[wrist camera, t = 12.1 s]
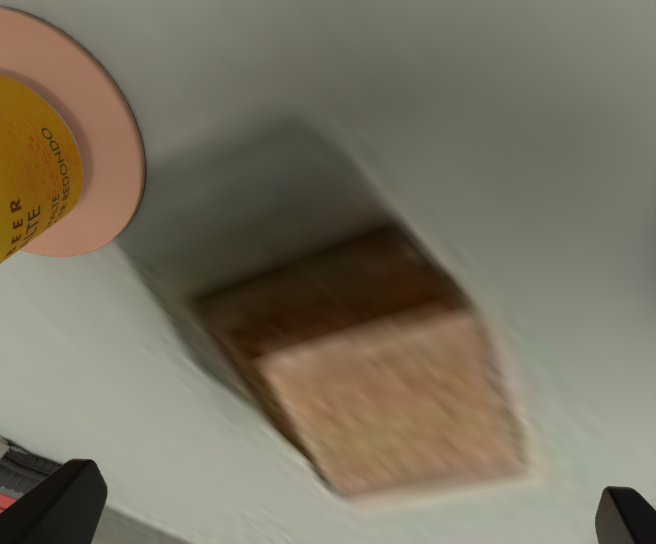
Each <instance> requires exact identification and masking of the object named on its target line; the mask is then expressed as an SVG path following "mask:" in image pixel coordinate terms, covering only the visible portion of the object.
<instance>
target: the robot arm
mask: <svg viewBox="0 0 656 544" xmlns="http://www.w3.org/2000/svg"><path fill="white" fill-rule="evenodd" d="M106 499H107V486H106V483H105V481H104V479H103V477H102V475H101V473H100V471H99V469H98V466H97V464H96V463H95V462H94V461H93V460H91V459H72V460H69V461H68V462H66V463H65V464H63V465H62V466H61V467H60V468H58V469H57V470H56V471H54V472H53V473H52V474H50V475H49V476H48V477H46V478H45V479H44V480H43V481H41V482H40V483H39V484H37V485H36V486H35V487H33V488H32V489H31V490H30V491H28V492H27V493H26V494H24V495H23V496H22V497H20V498H19V499H18V500H17V501H15V502H14V503H13V504H11V505H10V506H9V507H7V508H6V509H5V510H4V511H2V512H1V513H0V544H91V543H92V540H93V537H94V534H95V531H96V528H97V525H98V522H99V520H100V517H101V514H102V511H103V508H104V505H105V502H106ZM595 527H596V533H597V538H598V542H599V544H656V510H655V509H654V508H653V507H652V506H651V505H650V504H649V503H648V502H647V501H646V500H645V499H644V498H643V497H642V496H641V495H640V494H639V493H638V492H637V491H636V490H634V489H632V488H629V487H616V486H607V487H606V488H605V489H604V490H603V492H602V496H601V499H600V503H599V506H598V510H597V513H596V517H595Z"/></svg>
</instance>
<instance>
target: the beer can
mask: <svg viewBox="0 0 656 544" xmlns="http://www.w3.org/2000/svg"><path fill="white" fill-rule="evenodd" d="M82 186H83V167H82V162H81V156H80V151H79V148H78V145H77V142H76V140H75V137H74V135H73V133H72V131H71V129H70V128H69V126H68V125H67V123H66V122H65V120H64V119H63V118H62V116H61V115H60V114H59V113H58V112H57V111H56V110H55V109H54V108H53V107H52V106H51V105H50V104H49V103H48V102H47V101H45V100H44V99H43V98H42V97H40V96H39V95H38V94H37V93H35V92H34V91H33V90H31V89H30V88H28V87H27V86H25V85H23V84H22V83H20V82H18V81H16V80H14V79H12V78H10V77H7V76H4V75H2V74H0V263H2V262H3V261H4V260H6V259H7V258H9V257H10V256H11V255H13V254H14V253H15V252H17V251H18V250H20V249H21V248H22V247H24V246H25V245H27V244H28V243H29V242H31V241H32V240H33V239H35V238H36V237H38V236H39V235H40V234H42V233H43V232H44V231H46V230H47V229H49V228H50V227H51V226H53V225H54V224H56V223H57V222H58V221H60V220H61V219H62V218H64V217H65V216H67V215H68V214H69V213H70V212H71V211H72V210H73V208H74V207H75V205H76V204H77V202H78V200H79V198H80V195H81V191H82Z"/></svg>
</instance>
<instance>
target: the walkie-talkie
mask: <svg viewBox="0 0 656 544" xmlns="http://www.w3.org/2000/svg"><path fill="white" fill-rule="evenodd" d="M60 467H61V466H56V465H54V464H53V463H48V462H46V461H45V460H43V461H42V460H39V459H38V458H36V457H35V458H33V457H30V456H29V455H25V454H22V453H21V452H19V451H18V452H16V451H13V450H12V449H9V446H8V442H7V441H6V440H5V439H4V438H3V437H1V436H0V513H1V512H2V511H4V510H5V509H6V508H7V507H9V506H10V505H11V504H13V503H14V502H15V501H17V500H18V499H19V498H20V497H22V496H23V495H24V494H26V493H27V492H28V491H30V490H31V489H32V488H33V487H35V486H36V485H37V484H39V483H40V482H41V481H43V480H44V479H45V478H46V477H48V476H49V475H50V474H52V473H53V472H54V471H56V470H57V469H58V468H60Z"/></svg>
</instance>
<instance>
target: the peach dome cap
mask: <svg viewBox="0 0 656 544" xmlns="http://www.w3.org/2000/svg"><path fill="white" fill-rule="evenodd" d="M0 74H2V75H4V76H7V77H10V78H12V79H14V80H16V81H18V82H20V83H22V84H23V85H25V86H27V87H28V88H30V89H31V90H33V91H34V92H35V93H37V94H38V95H39V96H40V97H42V98H43V99H44V100H45V101H47V102H48V103H49V104H50V105H51V106H52V107H53V108H54V109H55V110H56V111H57V112H58V113H59V114H60V115H61V116H62V118H63V119H64V120H65V122H66V123H67V125H68V126H69V128H70V129H71V131H72V133H73V135H74V137H75V140H76V142H77V145H78V148H79V151H80V156H81V162H82V167H83V186H82V191H81V195H80V198H79V200H78V202H77V204H76V205H75V207H74V208H73V210H72V211H71V212H70V213H69V214H68V215H67V216H65V217H64V218H62V219H61V220H60V221H58V222H57V223H56V224H54V225H53V226H51V227H50V228H49V229H47V230H46V231H44V232H43V233H42V234H40V235H39V236H38V237H36V238H35V239H33V240H32V241H31V242H29V243H28V244H27V245H25V246H24V247H22V248H21V249H20V250H22V251H25V252H29V253H32V254H37V255H43V256H53V257H67V256H76V255H81V254H85V253H88V252H91V251H94V250H96V249H98V248H100V247H102V246H103V245H105V244H107V243H108V242H110V241H111V240H112V239H113V238H114V237H115V236H117V235H118V234H119V233H120V232H121V231H122V230H123V229H124V228H125V227H126V226H127V225H128V223H129V222H130V221H131V220H132V218H133V216H134V214H135V213H136V211H137V209H138V207H139V204H140V201H141V198H142V195H143V190H144V185H145V156H144V150H143V145H142V140H141V136H140V133H139V130H138V127H137V124H136V121H135V119H134V117H133V114H132V112H131V110H130V108H129V106H128V104H127V102H126V100H125V98H124V97H123V95H122V93H121V92H120V90H119V88H118V87H117V85H116V84H115V83H114V81H113V80H112V79H111V77H110V76H109V75H108V73H107V72H106V71H105V69H104V68H103V67H102V66H101V65H100V64H99V63H98V62H97V61H96V60H95V58H94V57H93V56H92V55H91V54H90V53H88V52H87V51H86V50H85V49H84V48H83V47H82V46H81V45H80V44H78V43H77V42H76V41H75V40H73V39H72V38H71V37H69V36H68V35H66V34H65V33H64V32H62V31H61V30H59V29H58V28H56V27H54V26H52V25H51V24H49V23H47V22H45V21H44V20H41V19H39V18H37V17H34V16H32V15H30V14H27V13H25V12H21V11H18V10H14V9H11V8H7V7H0Z"/></svg>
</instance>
